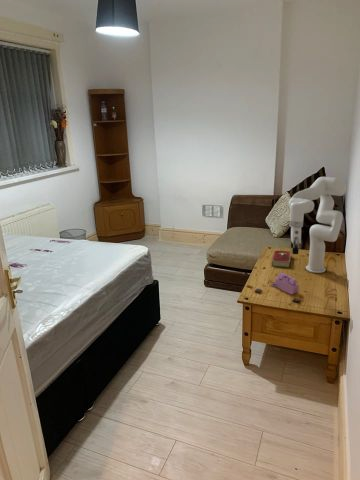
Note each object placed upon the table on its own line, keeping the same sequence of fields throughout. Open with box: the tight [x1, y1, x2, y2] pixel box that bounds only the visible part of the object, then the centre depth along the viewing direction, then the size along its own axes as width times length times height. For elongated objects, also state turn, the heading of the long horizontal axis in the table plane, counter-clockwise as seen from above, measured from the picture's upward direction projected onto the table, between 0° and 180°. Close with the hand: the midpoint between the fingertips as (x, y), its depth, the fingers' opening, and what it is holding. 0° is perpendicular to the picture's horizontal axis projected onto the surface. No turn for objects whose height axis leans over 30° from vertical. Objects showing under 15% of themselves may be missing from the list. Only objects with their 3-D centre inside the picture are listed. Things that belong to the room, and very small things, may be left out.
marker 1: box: [254, 288, 263, 294], centre depth 216 cm, size 3×3×1 cm
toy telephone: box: [270, 272, 299, 295], centre depth 217 cm, size 18×6×10 cm, turn 32°
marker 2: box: [292, 297, 301, 304], centre depth 204 cm, size 3×3×1 cm
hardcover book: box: [271, 249, 292, 269], centre depth 257 cm, size 12×21×4 cm, turn 162°
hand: (294, 250), depth 211 cm, fingers open, 9 cm apart
